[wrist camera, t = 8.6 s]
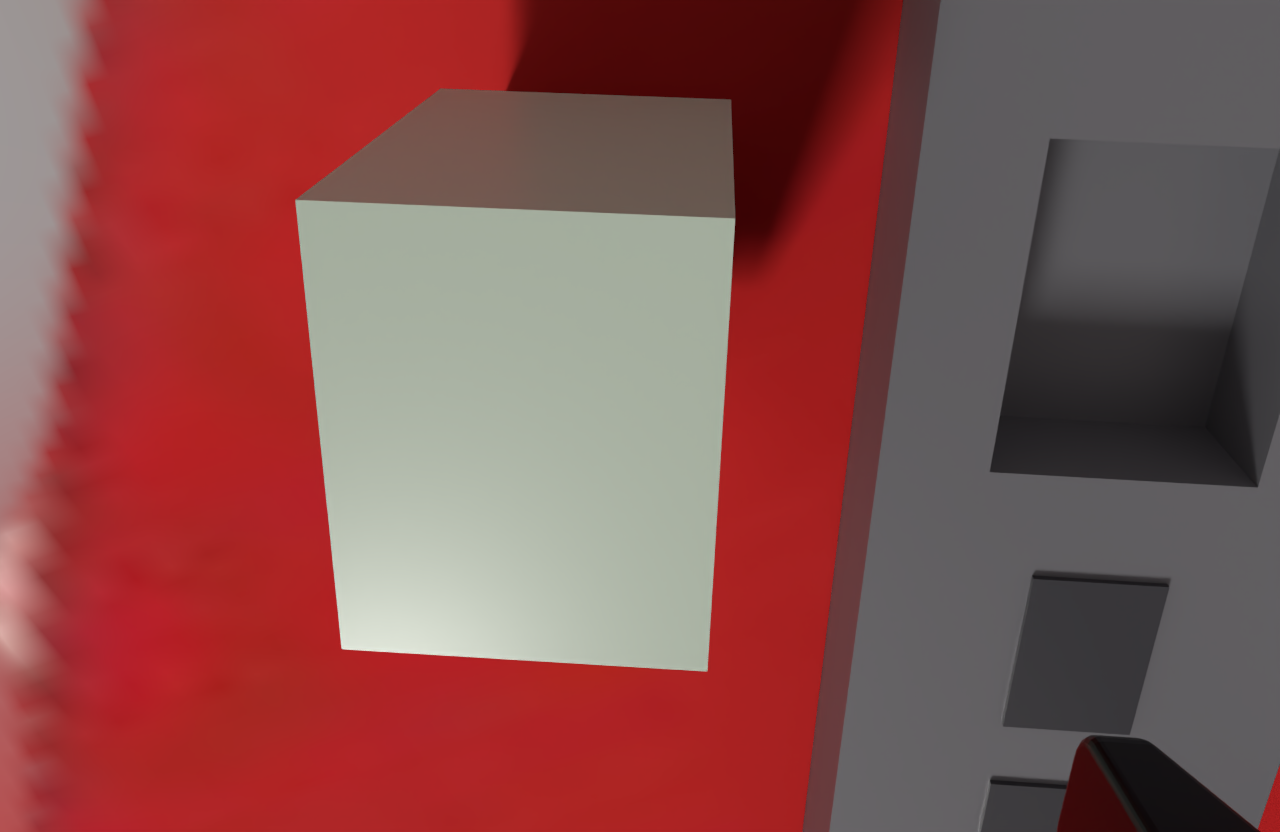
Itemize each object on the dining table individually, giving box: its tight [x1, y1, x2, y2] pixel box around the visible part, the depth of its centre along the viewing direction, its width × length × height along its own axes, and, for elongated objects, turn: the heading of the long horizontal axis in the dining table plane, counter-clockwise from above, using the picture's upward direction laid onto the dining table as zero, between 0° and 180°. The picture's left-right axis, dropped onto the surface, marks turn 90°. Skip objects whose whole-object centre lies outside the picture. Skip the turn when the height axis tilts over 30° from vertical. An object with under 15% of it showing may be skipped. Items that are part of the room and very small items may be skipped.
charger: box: [295, 89, 735, 671], centre depth 15 cm, size 4×5×8 cm
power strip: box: [803, 0, 1280, 832], centre depth 18 cm, size 7×22×4 cm, turn 178°
